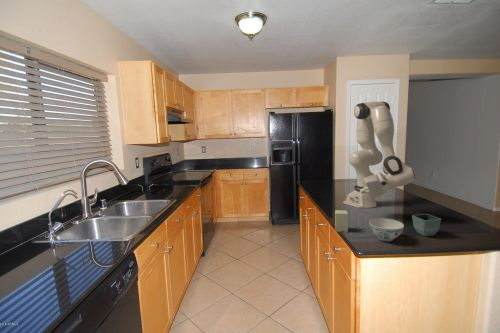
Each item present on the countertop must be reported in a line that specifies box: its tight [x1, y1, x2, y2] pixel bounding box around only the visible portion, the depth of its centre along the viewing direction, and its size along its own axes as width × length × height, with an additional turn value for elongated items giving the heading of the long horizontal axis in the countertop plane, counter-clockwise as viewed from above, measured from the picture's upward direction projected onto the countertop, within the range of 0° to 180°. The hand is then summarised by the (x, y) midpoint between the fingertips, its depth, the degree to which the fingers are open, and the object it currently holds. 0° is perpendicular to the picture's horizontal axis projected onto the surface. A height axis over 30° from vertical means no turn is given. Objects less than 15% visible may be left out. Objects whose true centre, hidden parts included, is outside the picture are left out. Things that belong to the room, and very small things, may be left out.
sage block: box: [334, 209, 349, 233], centre depth 138 cm, size 6×6×10 cm
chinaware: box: [368, 218, 405, 242], centre depth 124 cm, size 15×15×8 cm
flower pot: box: [411, 213, 442, 237], centre depth 127 cm, size 9×9×9 cm
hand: (360, 191), depth 154 cm, fingers closed
